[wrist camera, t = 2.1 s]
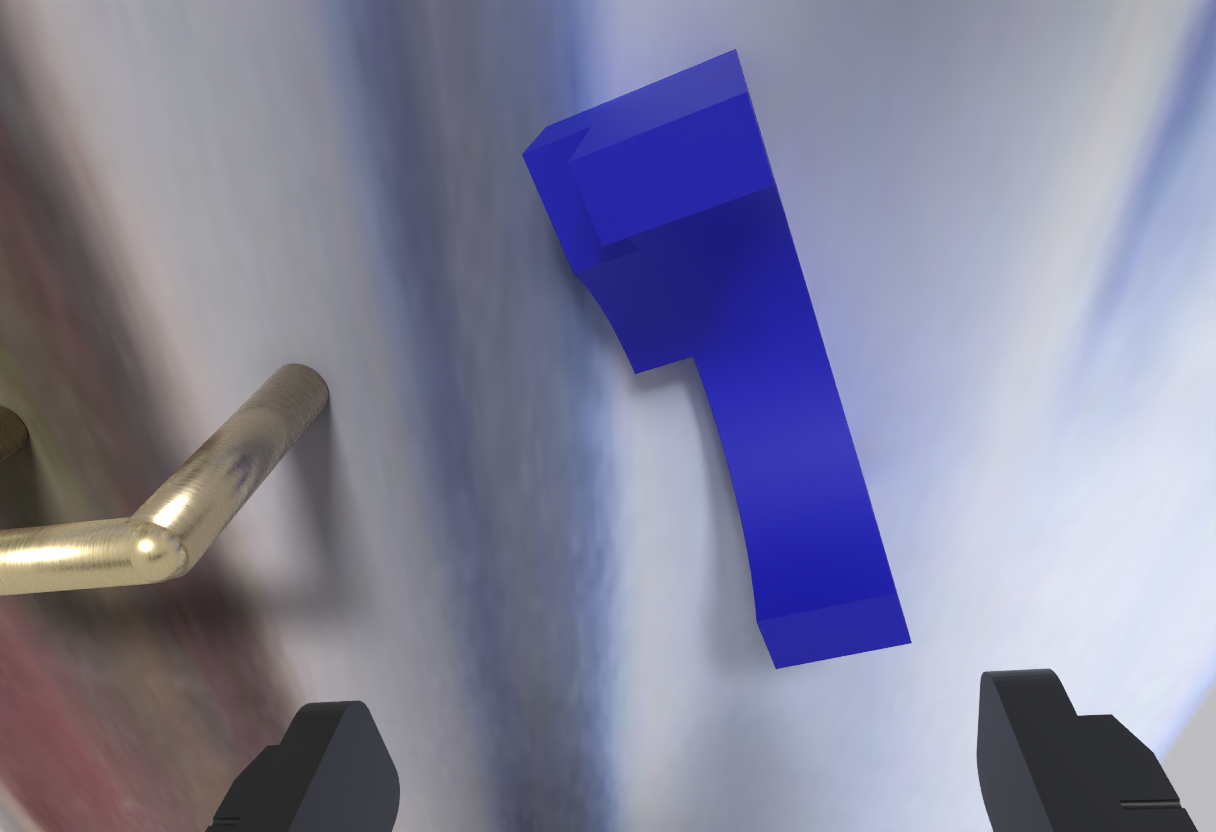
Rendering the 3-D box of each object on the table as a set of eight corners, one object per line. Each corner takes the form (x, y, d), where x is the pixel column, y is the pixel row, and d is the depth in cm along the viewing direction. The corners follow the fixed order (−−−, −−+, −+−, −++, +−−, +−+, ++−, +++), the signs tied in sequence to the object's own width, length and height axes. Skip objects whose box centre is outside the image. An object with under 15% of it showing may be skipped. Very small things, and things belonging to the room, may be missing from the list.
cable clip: (547, 125, 19) (486, 194, 14) (735, 48, 18) (747, 91, 12) (711, 522, 24) (712, 681, 19) (865, 484, 23) (911, 643, 18)
